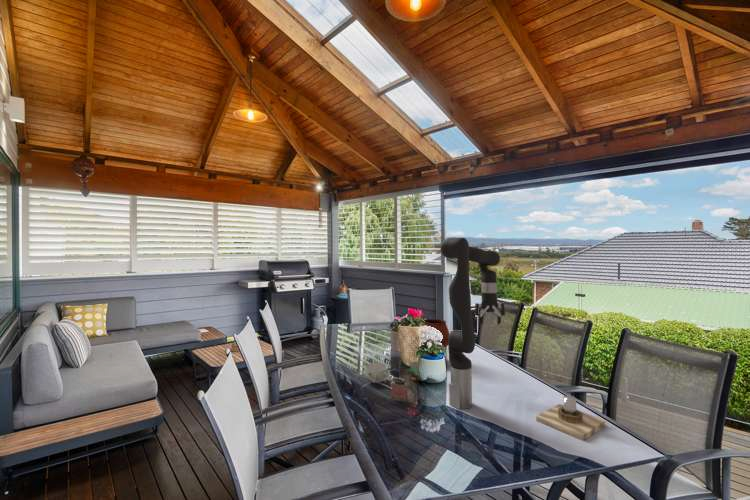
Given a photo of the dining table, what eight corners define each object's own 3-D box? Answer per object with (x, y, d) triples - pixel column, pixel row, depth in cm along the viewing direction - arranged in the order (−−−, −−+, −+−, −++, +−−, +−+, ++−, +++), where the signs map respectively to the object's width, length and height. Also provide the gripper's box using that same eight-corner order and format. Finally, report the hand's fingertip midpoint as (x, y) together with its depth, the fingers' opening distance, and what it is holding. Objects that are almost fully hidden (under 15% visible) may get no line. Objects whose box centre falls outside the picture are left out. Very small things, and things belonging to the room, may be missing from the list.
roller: (573, 421, 137) (572, 401, 137) (561, 417, 141) (561, 397, 141) (578, 418, 139) (578, 398, 139) (567, 414, 143) (567, 394, 143)
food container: (415, 384, 181) (415, 365, 181) (408, 380, 187) (408, 361, 187) (434, 379, 187) (434, 361, 187) (427, 375, 193) (427, 357, 192)
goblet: (454, 358, 220) (454, 319, 220) (443, 368, 204) (442, 325, 203) (426, 354, 230) (426, 316, 230) (413, 362, 214) (413, 322, 214)
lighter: (408, 399, 164) (408, 377, 164) (406, 402, 161) (406, 380, 161) (392, 396, 168) (392, 375, 167) (390, 399, 164) (389, 378, 164)
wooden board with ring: (583, 440, 127) (583, 428, 127) (536, 420, 142) (536, 409, 142) (605, 425, 138) (605, 414, 137) (559, 408, 152) (559, 398, 152)
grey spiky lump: (360, 380, 188) (360, 365, 188) (379, 374, 195) (378, 360, 195) (377, 389, 176) (376, 373, 176) (396, 383, 183) (396, 368, 183)
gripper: (477, 292, 172) (477, 325, 171) (506, 292, 171) (506, 325, 171) (473, 291, 179) (473, 322, 179) (501, 290, 179) (501, 322, 178)
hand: (489, 324), depth 175 cm, fingers open, 8 cm apart
